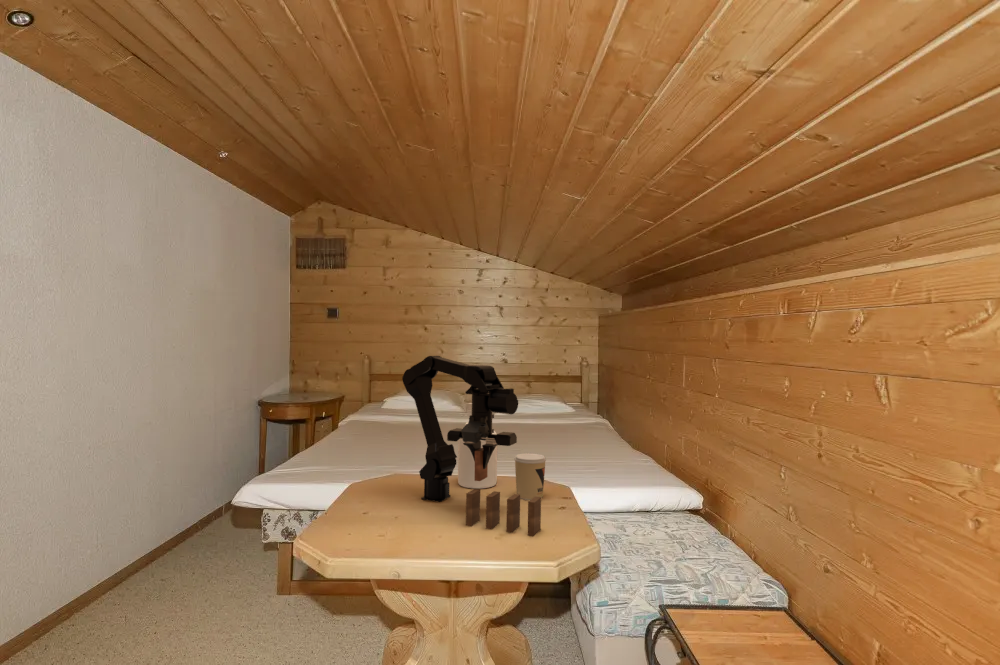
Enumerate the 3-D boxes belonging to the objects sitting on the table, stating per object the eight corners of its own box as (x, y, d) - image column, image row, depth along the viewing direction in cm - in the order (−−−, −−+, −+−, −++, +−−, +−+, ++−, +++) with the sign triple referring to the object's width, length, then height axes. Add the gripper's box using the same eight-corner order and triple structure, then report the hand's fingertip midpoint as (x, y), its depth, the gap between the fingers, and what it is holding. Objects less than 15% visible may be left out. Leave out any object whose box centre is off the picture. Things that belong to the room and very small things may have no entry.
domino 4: (506, 531, 138) (506, 498, 138) (513, 525, 143) (514, 493, 143) (512, 532, 138) (513, 499, 138) (519, 526, 142) (520, 494, 142)
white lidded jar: (457, 479, 188) (458, 419, 188) (494, 479, 189) (495, 419, 190) (458, 489, 176) (459, 425, 176) (498, 489, 177) (499, 425, 177)
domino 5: (527, 535, 136) (528, 501, 136) (534, 528, 141) (534, 496, 141) (533, 536, 135) (534, 502, 136) (540, 529, 140) (541, 497, 140)
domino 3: (485, 528, 140) (486, 496, 140) (493, 522, 145) (494, 491, 145) (491, 529, 140) (492, 496, 140) (499, 523, 144) (500, 492, 144)
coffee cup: (543, 502, 164) (543, 460, 164) (511, 499, 166) (512, 458, 166) (547, 493, 173) (547, 454, 173) (516, 491, 175) (517, 452, 175)
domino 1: (465, 525, 142) (466, 493, 142) (474, 519, 147) (474, 488, 147) (471, 526, 142) (472, 494, 142) (479, 520, 146) (480, 489, 146)
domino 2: (474, 480, 154) (474, 450, 154) (482, 476, 158) (482, 447, 158) (479, 481, 153) (480, 451, 153) (487, 477, 158) (487, 448, 158)
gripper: (437, 412, 152) (437, 471, 152) (502, 417, 145) (501, 478, 145) (456, 408, 162) (456, 463, 162) (517, 412, 155) (517, 469, 155)
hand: (481, 468), depth 156 cm, fingers closed on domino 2, 2 cm apart
